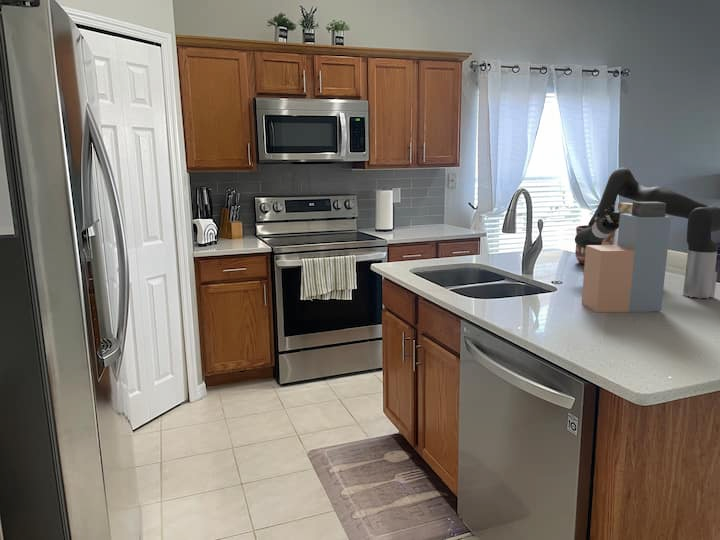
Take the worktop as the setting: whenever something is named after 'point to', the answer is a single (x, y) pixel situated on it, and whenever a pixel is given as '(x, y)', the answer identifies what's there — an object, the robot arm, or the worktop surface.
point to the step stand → (628, 267)
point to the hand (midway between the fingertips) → (625, 207)
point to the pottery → (581, 251)
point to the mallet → (643, 208)
